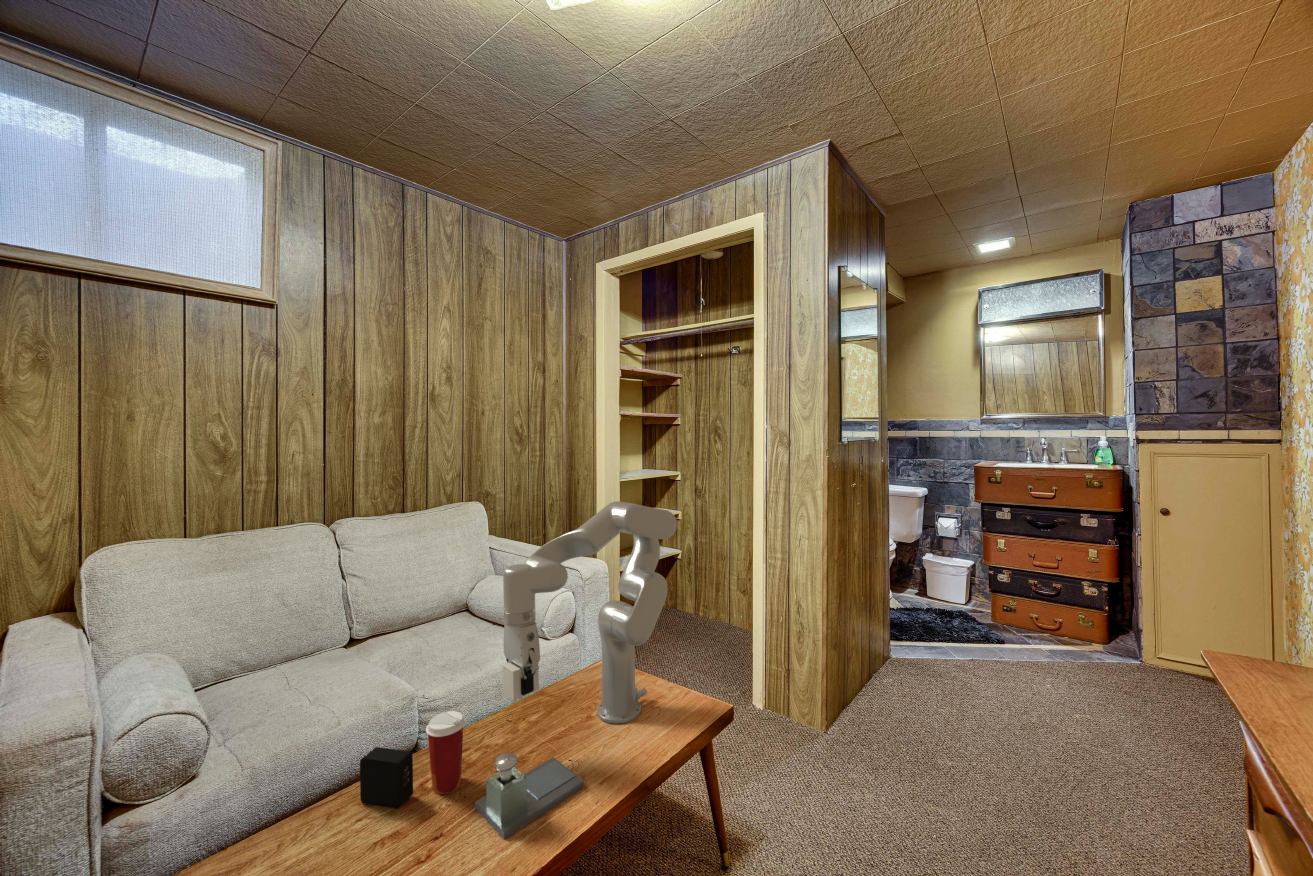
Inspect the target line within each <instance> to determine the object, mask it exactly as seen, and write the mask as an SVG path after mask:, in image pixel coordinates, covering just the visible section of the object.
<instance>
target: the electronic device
mask: <svg viewBox="0 0 1313 876" xmlns="http://www.w3.org/2000/svg"><path fill="white" fill-rule="evenodd" d="M413 757H414V756H413V753H412V752H411V751H409V750H403V749H394V748H386V747H381V746H379V747H378V746H377V747H375V748H373V749H370V750H369V751H368V753H367V754H364V755H363V757H362V758H360V761H359V783H360V785H359V786H360V788H359V789H360V797H359V798H360V802H361V803H362V804H363V803H366V804H365V805H368V804H370V805H369V806H374V805H375V806H374V807H380V806H381V807H382V808H388V809H395V810H399V809H400V808H401V807H403V805H404V804H405V803H406V802H407V801H408V800H409V799H410V797H412V796H413V795H414V773H413V772H414V763H413V759H414V758H413Z"/></svg>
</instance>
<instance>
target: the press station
mask: <svg viewBox="0 0 1313 876" xmlns="http://www.w3.org/2000/svg"><path fill="white" fill-rule="evenodd" d="M584 787H585V779H584V778H582V777H581V776H579V775H578V774H577V773H575V772H574V771H572V770H571V769H570V768H569V767H567V766H566V765H565V764H563V763H561V762H560V760H558V759H556V758H555V757H554V756H553V757H551V758H550V759H548V760H546V761H544V762H543V763H541V764H539V765H537V766H536V767H533V768H532V769H530V770H528V771H526V772H525V773H522V772H520V770H518V769H517V768H516V766H515V767H514V768H513V769H512V781H511V782H509V783H507V784H506V785H504V786H503V785H502V784H501V771H498V772H496V773H495V774H493V775H491V776H490V777H487V778H486V779H485V790H486V791H485V792H486V793H485V794H486V795H485V796H483V797H480V798H479V799H477V800H476V801H475V802H474V804H475V807H474V808H475V810H476V811H477V812H478V813H479V814H480V815H481V816H482V818H483V819H484V820H485V821H486V822H487V823H488V825H490V826H491V827H492V828H493V830H495V832H496V833H498V835H499V836H500V837H501V838H502V839H503V840H505V839H507V838H508V837H510V836H512V835H514V833H516V832H518V831H519V830H521V829H522V828H524V827H525V826H527V825H528V824H530V823H532V822H533V821H535V820H536V819H537V818H539V817H540V816H543V815H544V814H545V813H547V812H548V811H550V810H551V809H553V808H554V807H556V806H557V805H559V804H561V803H562V802H564V801H565V800H566V799H568V798H570V797H571V796H573V795H574V794H576V793H577V792H579V791H580V790H581V789H583V788H584Z"/></svg>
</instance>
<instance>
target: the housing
mask: <svg viewBox="0 0 1313 876" xmlns="http://www.w3.org/2000/svg"><path fill="white" fill-rule="evenodd" d="M527 663H529V661H527V662H526V664H527ZM537 663H538V664H539V662H537ZM525 669H526V672H527V670H529V667H526V668H525ZM539 670H540V668H539V669H538V670H537V671H536V672H535V675H534V690H533V691H532V692H530V693H528V694H526V695H521V679H522V671H521V666H519V665H517V664H515V663H513V662H510V663H507V662H506V663H505V664H502V694H503V695H505V696H506V697H508V699H510V700H512V701H516V700H518V699H519V700H520V699H521V698H523V697H525V696H527V695H530V694H532V693H535V692H537V691H539V690H540V681H539V680H540V676H539V675H540V674H539Z"/></svg>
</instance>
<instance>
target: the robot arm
mask: <svg viewBox="0 0 1313 876" xmlns="http://www.w3.org/2000/svg"><path fill="white" fill-rule="evenodd" d="M675 516H676V515H674V513H672V512H671V511H669V510H667V509H660V508H657V507H650V506H647V505H642V504H638V503H632V502H625V501H612V502H610V503H608V504H607V505H606V506H604V507H603V508H602V509H600V510H599V511H598V512H597V513H595V514H594V515H593V516H592V517H591V518H589V519H588V520H587V521H585V522H584V523H583V524H582V525H580V526H578V527H577V528H576V529H574V530H571V531H569V532H566V533H565V534H562V535H560V536H557V537H556V538H554V539H551V540H549V541H548V542H546V543H545V544H544V545H542V546H540V547H539V548H538V549H537V550H535V551H534V552H533V553H531V555H530V556H529V557H528V558H527V559H526V560H525V561H524V563H520V564H519V563H517V564H512V565H509V566H507V567H506V568H505V569H504V571H503V573H502V574H503V575H502V576H503V577H502V579H503V583H502V584H503V621H504V622H503V625H504V629H503V655H504V657H505V660H506V664H507V663H510V662H513V663H515V664H517V665H519V666H521V671H522V679H521V695H526V694H528V693H530V692H532V691H533V690H534V675H535V672H536V671H537V670H538V669H539V670H540V666H539V662H540V661H541V651H540V650H541V648H540V646H541V645H540V639H539V638H540V637H539V632H538V631H539V630H538V625H537V622H536V594H542V593H553V592H557V591H559V590H561V589H562V588H563V587H564V586H565V585H566V584H567V582H568V578H569V576H568V575H569V574H568V570H567V568H566V567H565V566H564V565H563V564H562V563H564V562H566V561H568V560H571V559H574V558H581V557H582V558H583V557H588V556H592V555H594V554H598V553H599V552H600V551H601V550H602V549H603V548H605V546H607V545H608V544H609V543H610V542H611V541H612V540H614V539H615V538H616V537H617V536H619V535H620V534H621V533H622V534H623V533H624V534H626V535H627V534H628V535H632V536H633V537H632V539H633V545H632V546H633V547H632V550H631V553H630V555H629V557H628V560H627V563H626V565H625V567H624V569H623V571H622V573H621V575H620V577H619V579H618V584H617V589H618V593H619V594H620V595H621V596H623V597H624V598H625V599H627V600H631V601H633V602H634V603H633V605H632V604H629V603H627V602H624V601H621V600H616V599H614V600H608V601H607V602H605V603H604V604H603V605H602V606H601V607H600V609H599V612H598V615H597V625H598V631H599V636H600V643H601V690H602V691H601V693H602V694H601V696H602V698H601V702H600V703H599V704H598V706H597V708H596V712H597V714H596V715H597V717H598V718H599V719H600V720H601V721H603V722H605V723H609V724H625V723H629V722H632V721H633V720H635V719H637V718H639V716H640V715H641V712H642V707H641V703H640V702H639V700H640V698H641V697H643V696H645V695H648V694H647V693H648V691H647V689H646V687H642V688H640V689H639V690H638V688H637V687H636V659H635V658H636V651H635V650H636V648H635V647H638V646H642V645H643V644H645V643H646V642H647V641H648V640H649V638H650V637H651V635H652V633H653V631H654V629H655V626H656V625H657V621H658V619H659V617H660V615H661V612H662V610H663V608H664V605H665V602H666V600H667V597H668V584H667V580H666V578H665V577H664V576H663V575H662V574H660V573H658V572H656V568H657V566H658V563H659V562H660V561H659V560H660V556H661V547H660V546H661V545H660V542H659V540H667V539H670V538H671V537H672V536H673V535H674V534H675V533H676V530H677V527H678V523H677V518H676V517H675ZM527 661H529V663H527V664H526V662H527ZM537 662H538V663H537ZM526 667H529V670H527V672H526V669H525V668H526ZM532 693H533V692H532ZM530 694H531V693H530ZM528 695H529V694H528ZM526 696H527V695H526Z"/></svg>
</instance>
